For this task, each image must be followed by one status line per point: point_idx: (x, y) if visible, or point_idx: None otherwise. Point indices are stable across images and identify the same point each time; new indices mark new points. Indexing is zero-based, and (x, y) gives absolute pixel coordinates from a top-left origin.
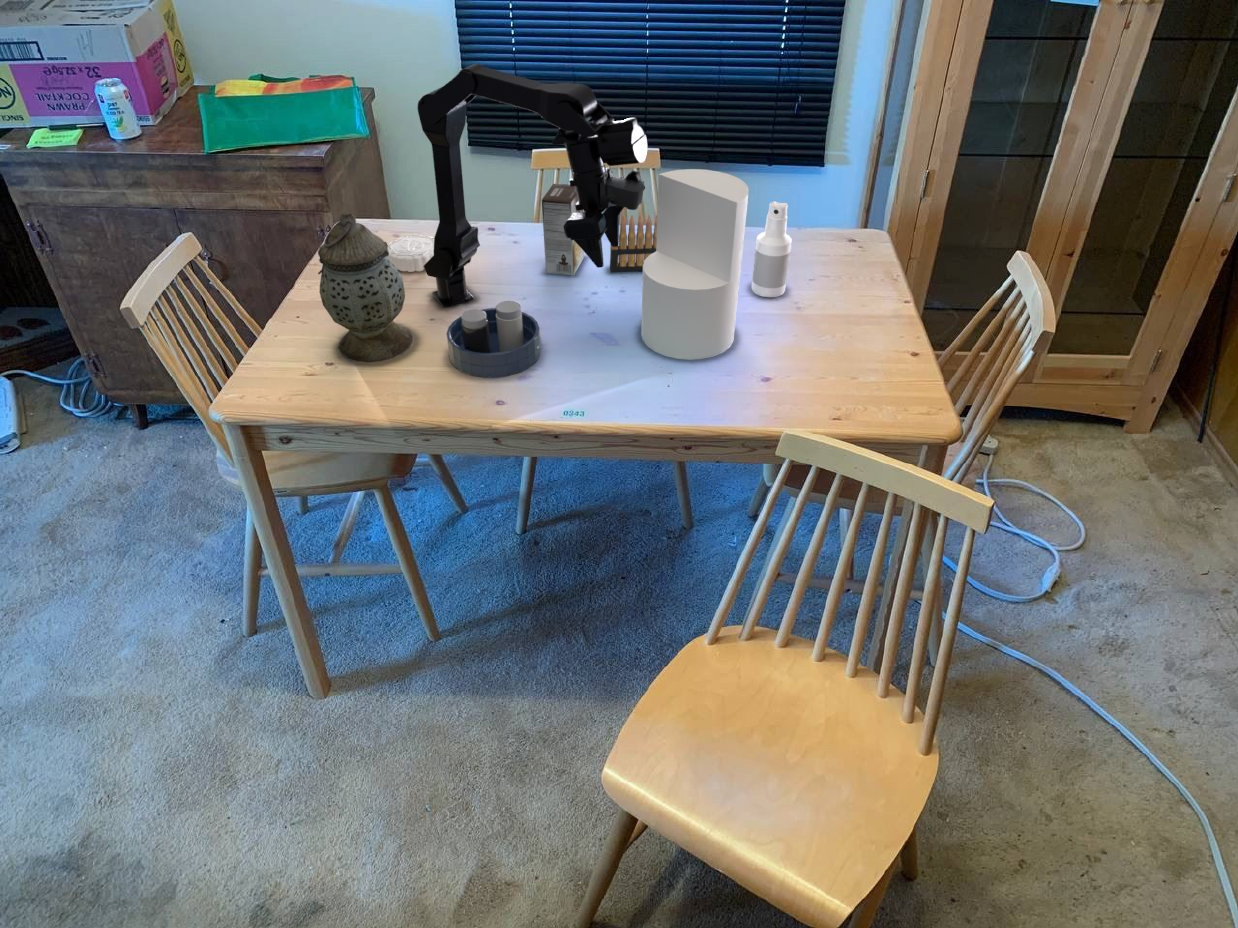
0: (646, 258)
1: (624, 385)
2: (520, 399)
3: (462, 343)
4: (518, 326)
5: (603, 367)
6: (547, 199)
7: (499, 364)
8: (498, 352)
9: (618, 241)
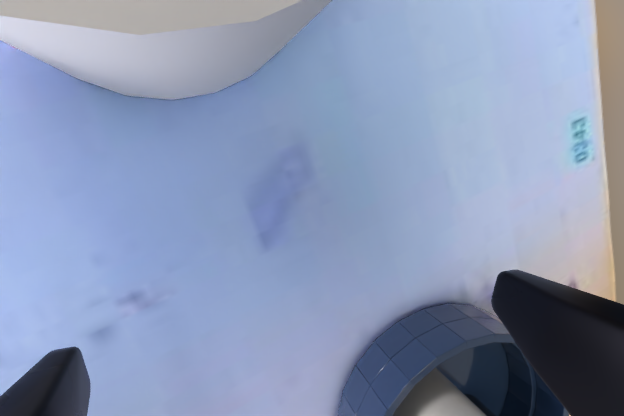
0: (79, 24)
1: (474, 63)
2: (556, 262)
3: None
4: (470, 404)
5: (415, 143)
6: None
7: None
8: None
9: (30, 375)
